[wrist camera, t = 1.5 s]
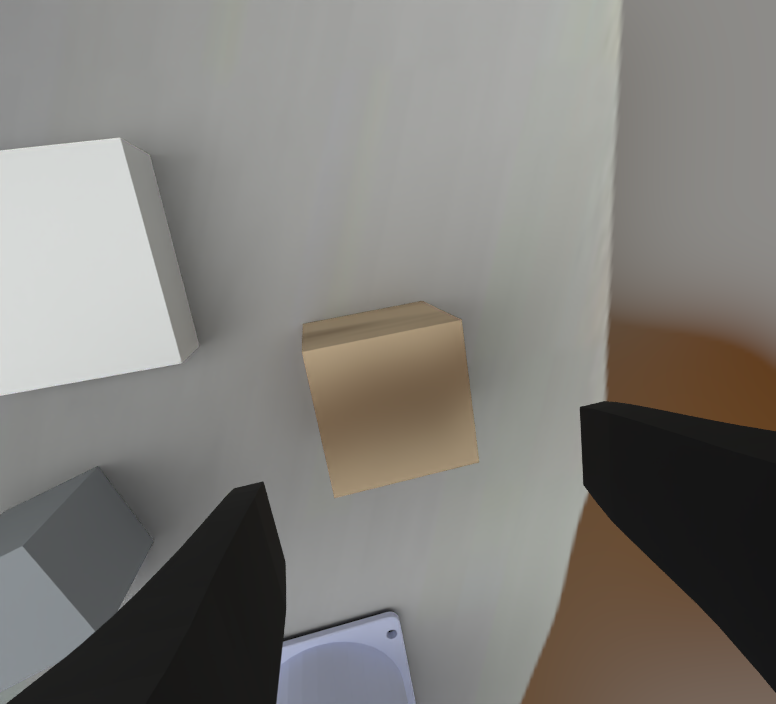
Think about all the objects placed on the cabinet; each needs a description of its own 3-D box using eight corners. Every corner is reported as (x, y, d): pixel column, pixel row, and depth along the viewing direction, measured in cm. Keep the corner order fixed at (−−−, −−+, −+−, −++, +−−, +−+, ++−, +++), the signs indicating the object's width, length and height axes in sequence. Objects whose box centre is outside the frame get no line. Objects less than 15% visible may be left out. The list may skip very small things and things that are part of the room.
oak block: (437, 410, 20) (479, 462, 15) (327, 435, 19) (334, 498, 15) (421, 300, 19) (461, 319, 14) (302, 323, 18) (301, 352, 13)
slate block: (154, 540, 19) (102, 639, 14) (65, 584, 19) (-17, 700, 14) (98, 465, 18) (22, 545, 13) (3, 511, 18) (-109, 610, 13)
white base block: (201, 343, 18) (181, 363, 15) (10, 377, 17) (-51, 404, 14) (153, 156, 16) (120, 137, 13) (-65, 181, 15) (-152, 166, 12)
